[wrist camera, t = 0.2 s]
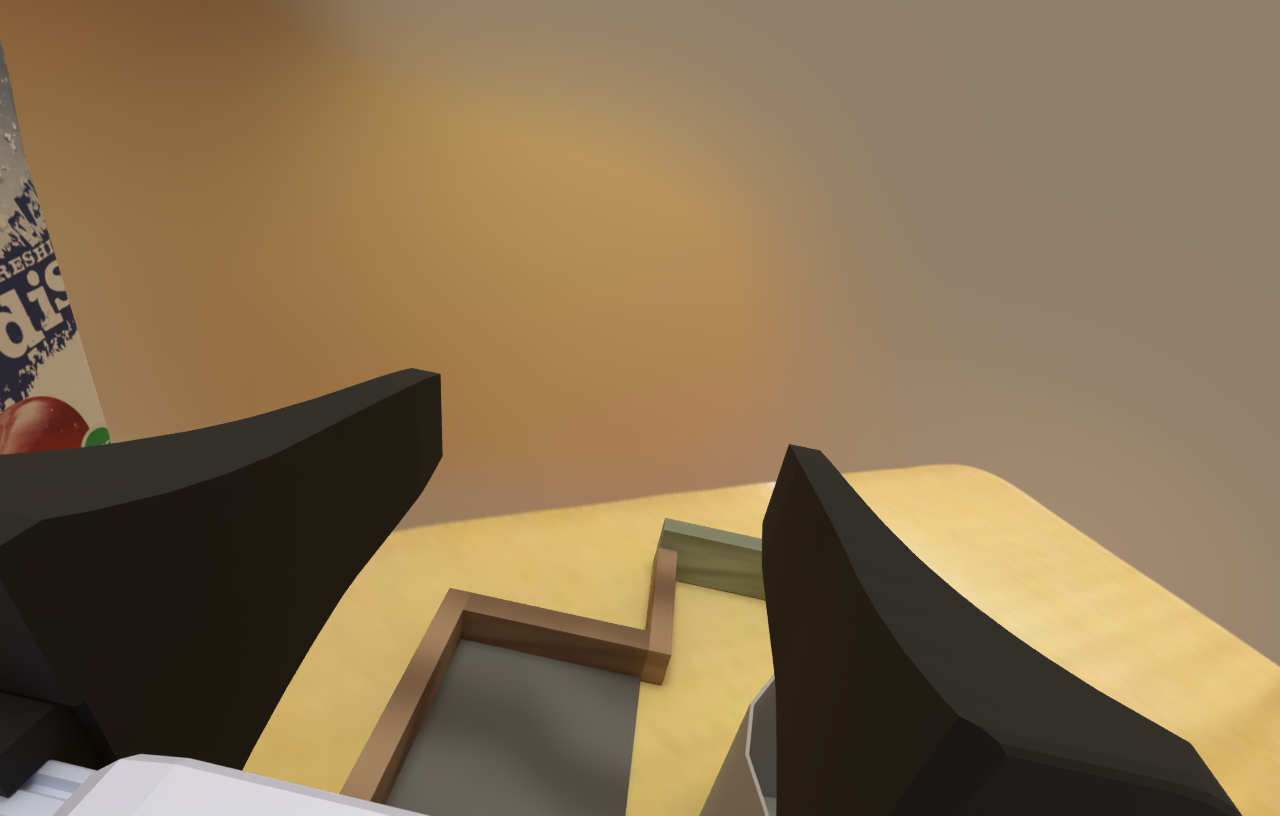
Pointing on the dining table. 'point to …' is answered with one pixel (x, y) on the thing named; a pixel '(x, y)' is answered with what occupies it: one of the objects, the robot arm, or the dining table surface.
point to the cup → (749, 764)
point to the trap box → (536, 695)
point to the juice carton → (36, 318)
